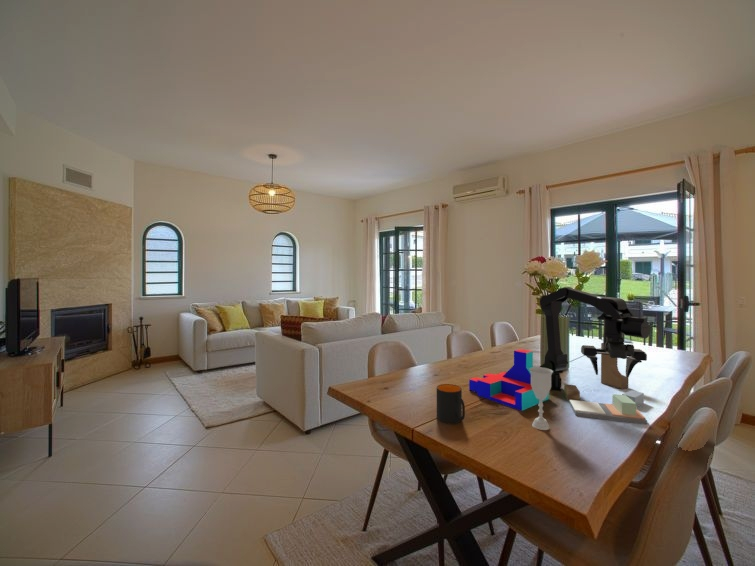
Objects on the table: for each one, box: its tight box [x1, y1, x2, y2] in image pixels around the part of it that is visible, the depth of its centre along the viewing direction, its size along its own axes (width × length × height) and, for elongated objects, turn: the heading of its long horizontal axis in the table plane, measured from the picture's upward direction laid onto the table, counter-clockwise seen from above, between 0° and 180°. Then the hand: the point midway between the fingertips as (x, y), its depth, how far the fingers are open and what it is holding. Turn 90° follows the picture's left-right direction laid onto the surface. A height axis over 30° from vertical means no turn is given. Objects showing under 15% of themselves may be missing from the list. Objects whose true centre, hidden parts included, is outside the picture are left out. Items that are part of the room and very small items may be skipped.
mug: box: [436, 383, 466, 425], centre depth 111 cm, size 8×12×10 cm
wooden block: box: [600, 342, 629, 390], centre depth 145 cm, size 9×4×18 cm, turn 23°
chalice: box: [529, 366, 553, 431], centre depth 106 cm, size 7×7×18 cm
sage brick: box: [611, 393, 637, 416], centre depth 114 cm, size 4×8×4 cm, turn 164°
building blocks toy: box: [468, 348, 550, 412], centre depth 134 cm, size 19×25×18 cm
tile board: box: [568, 400, 648, 425], centre depth 116 cm, size 20×12×2 cm, turn 69°
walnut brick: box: [563, 383, 581, 402], centre depth 131 cm, size 4×8×4 cm, turn 159°
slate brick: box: [621, 389, 645, 408], centre depth 124 cm, size 4×8×4 cm, turn 124°
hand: (611, 376), depth 120 cm, fingers open, 9 cm apart
